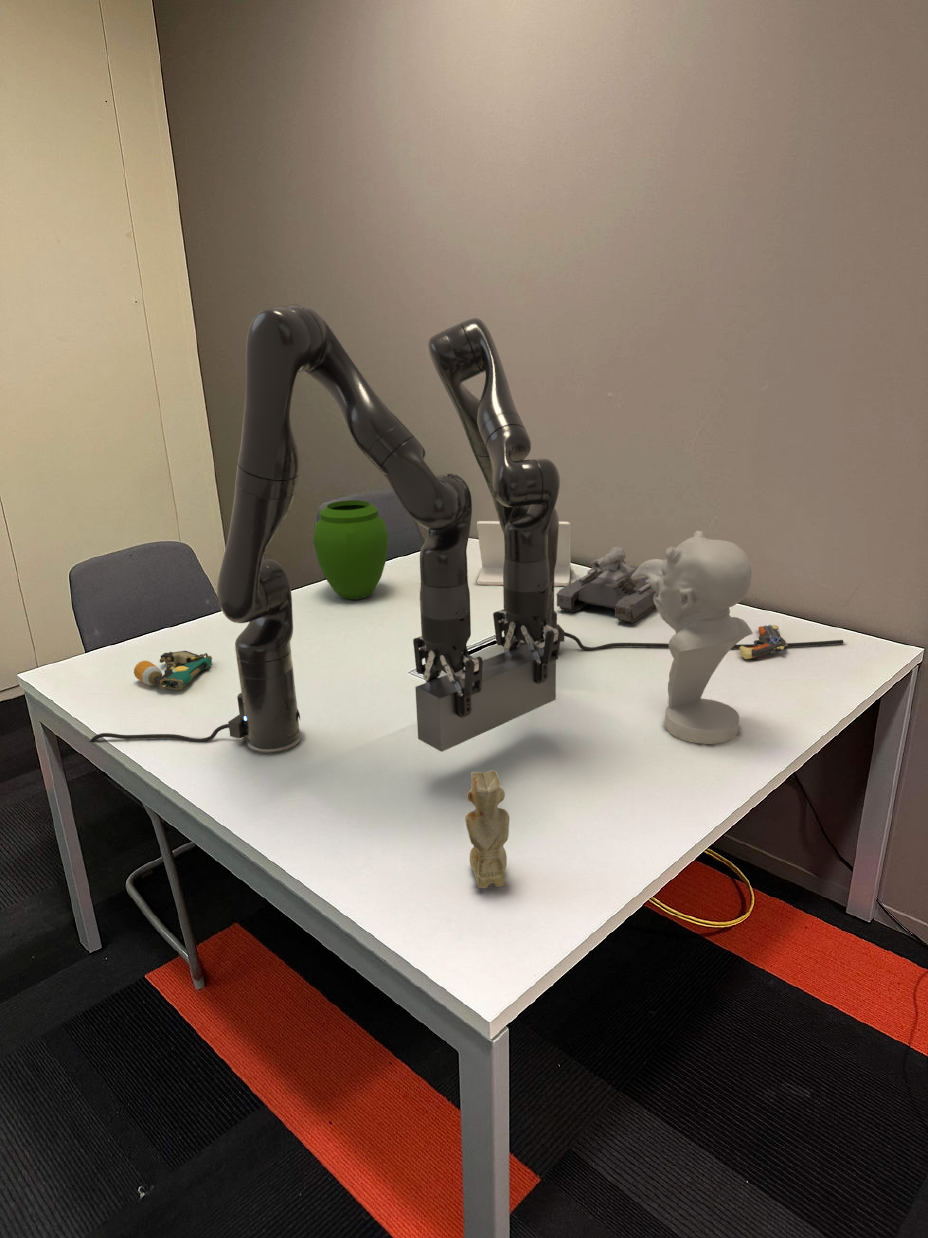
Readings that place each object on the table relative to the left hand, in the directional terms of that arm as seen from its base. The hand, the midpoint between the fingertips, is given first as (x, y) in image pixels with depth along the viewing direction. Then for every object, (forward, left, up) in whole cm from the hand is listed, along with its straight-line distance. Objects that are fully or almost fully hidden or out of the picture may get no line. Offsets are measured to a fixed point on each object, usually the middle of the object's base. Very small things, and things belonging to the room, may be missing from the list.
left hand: (449, 707), depth 134 cm
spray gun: (-72, +16, -13) cm, 75 cm away
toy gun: (+39, +76, -13) cm, 86 cm away
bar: (+4, +8, -5) cm, 10 cm away
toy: (+3, +90, -13) cm, 91 cm away
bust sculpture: (+30, +33, -13) cm, 47 cm away
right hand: (+7, +16, 0) cm, 17 cm away
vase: (-63, +74, -13) cm, 98 cm away
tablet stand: (-27, +105, -13) cm, 110 cm away
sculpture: (+15, -21, -13) cm, 29 cm away
